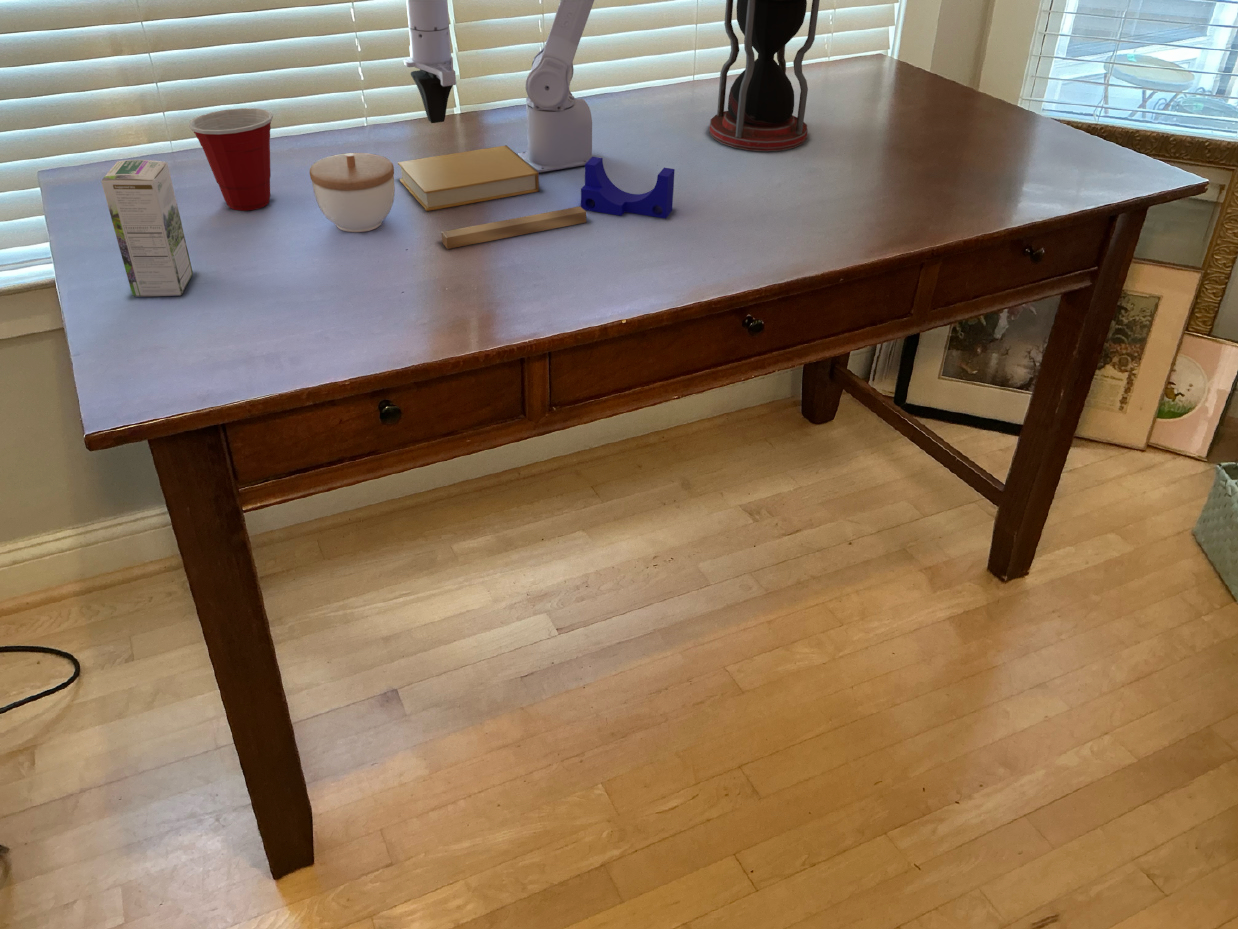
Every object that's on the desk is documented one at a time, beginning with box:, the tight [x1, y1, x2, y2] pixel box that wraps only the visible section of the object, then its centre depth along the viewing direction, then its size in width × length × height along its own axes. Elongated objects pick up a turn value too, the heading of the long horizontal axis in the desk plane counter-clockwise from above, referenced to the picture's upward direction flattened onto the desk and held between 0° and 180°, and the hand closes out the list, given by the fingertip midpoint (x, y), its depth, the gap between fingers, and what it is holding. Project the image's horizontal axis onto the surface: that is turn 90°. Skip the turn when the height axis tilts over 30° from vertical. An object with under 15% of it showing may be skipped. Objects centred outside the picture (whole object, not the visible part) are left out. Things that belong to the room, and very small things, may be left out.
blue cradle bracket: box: [580, 156, 675, 219], centre depth 142 cm, size 12×4×6 cm, turn 71°
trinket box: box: [309, 152, 396, 233], centre depth 135 cm, size 11×11×9 cm
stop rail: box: [441, 205, 587, 250], centre depth 137 cm, size 20×2×2 cm, turn 118°
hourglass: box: [709, 0, 820, 152], centre depth 162 cm, size 16×16×25 cm
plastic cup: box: [187, 107, 274, 212], centre depth 139 cm, size 11×11×12 cm
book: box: [397, 145, 540, 212], centre depth 149 cm, size 17×12×3 cm
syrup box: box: [100, 159, 194, 297], centre depth 118 cm, size 6×6×14 cm
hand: (436, 121), depth 155 cm, fingers closed
